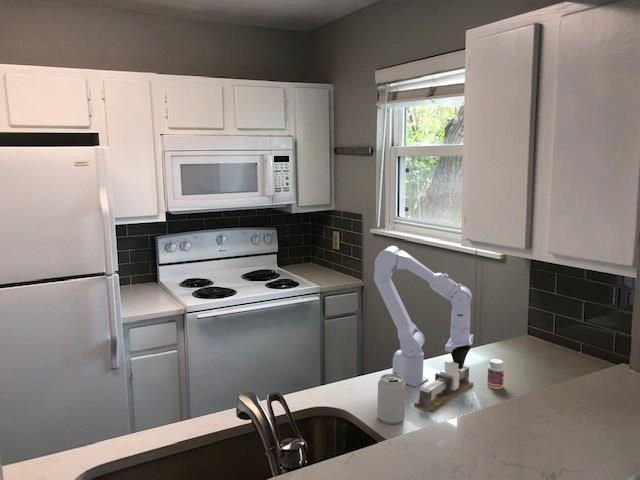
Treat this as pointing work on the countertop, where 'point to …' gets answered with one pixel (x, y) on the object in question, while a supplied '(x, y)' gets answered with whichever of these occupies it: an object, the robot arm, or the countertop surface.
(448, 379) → the grey square plate
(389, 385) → the can
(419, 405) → the pipe board
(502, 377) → the pill bottle
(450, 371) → the sleeve
